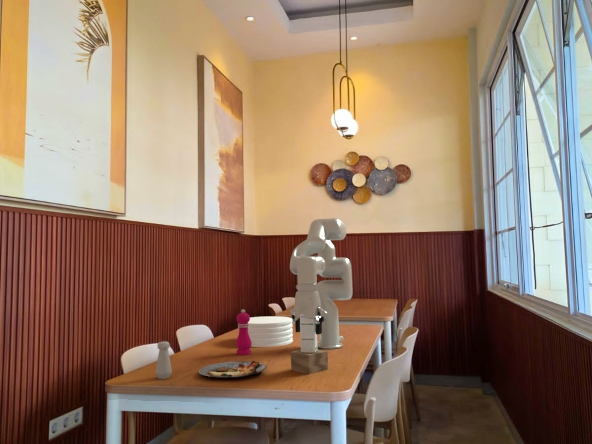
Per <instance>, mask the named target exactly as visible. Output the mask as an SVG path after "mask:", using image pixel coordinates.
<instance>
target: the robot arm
mask: <svg viewBox="0 0 592 444" xmlns="http://www.w3.org/2000/svg"><path fill="white" fill-rule="evenodd" d="M346 236H347V227H346V225H345V223H344V222H343V221H342V220H341V219H338V218H317V219H314V220H312V222H311V223H310V226H309V228H308V233H307V237H306V239H305V240H303V241H302V242H301V243H299V244H298V245H297V246H295V248H294V249H293V251H292V253H291V257H290V260H289V261H290V262H289V270H290V272H291V273H292V274H293V275H297V285H295V289H297V291H296V292H295V297H294V307H293V308H291V309H290V310H289V314H290V315H291V318H292V320H293V322H294V323H295V324H294V326H295V327H294V329H295V333H300V315H301V314H303V315H304V318H307V319H313V318H314V320H315V321H316V323H317V324H316V325H315V327H316V334H317V336H318V337H319V342H317V343H318V349H325V350H326V349H328V350H330V349H339V348H342V347H343V343H342V342H341V341H343V340H344V336H343V335H340V328H339V326H340V323H339V308H338V306H337V305H336V303H335V302H334V301H348V300H349V301H350V300H351V299H352V297H353V293H354V292H353V290H354V289H353V271H352V263H351V260H350V259H349V258H347V257H336V247H335V245H334V244H333V243H332V241H343V240H344V239H345V238H346ZM315 254H317V255H315ZM317 275H319V276H320V277H321V278H340V280H339V279H327V280H325V279H324V280H320V281H319V282H318V276H317Z"/></svg>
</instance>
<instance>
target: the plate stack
mask: <svg viewBox="0 0 592 444" xmlns="http://www.w3.org/2000/svg"><path fill="white" fill-rule="evenodd" d="M237 323H238V322H237ZM248 323H249V327H248V334H249V337H250V339H251V343H252V345H251V347H252V348H253V347H254V348H271V347H280V346H286V345H289V344H292V343H293V342H294V339H293V337H294V334H293V332H294V331H293V329H294V328H293V327H294V326H293V318H292V317H288V316H273V315H271V316H270V315H269V316H265V315H264V316H254V317H253V316H252V317H250V321H249V322H248ZM238 324H239V323H238ZM238 324H237V325H238ZM237 327H238V326H237ZM238 329H239V327H238ZM238 334H239V330H238ZM251 347H250V348H251Z"/></svg>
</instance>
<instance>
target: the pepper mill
mask: <svg viewBox="0 0 592 444" xmlns="http://www.w3.org/2000/svg"><path fill="white" fill-rule="evenodd" d="M250 318H251V317H250V315H249V314H248V313H247V312H246V309H241V311H240V312H239V314H237V315H236V322H237V323H239V324H237V327H239V328H238V331H239V333H238V335H237V338H236V341H235V347H236V348H237V349H236V355H237V356H248V355H251V354H252V353H251V352H252V350H251V345H252V343H251V339H250V337H249V334H248V327H249V323H248V322H249V321H250Z"/></svg>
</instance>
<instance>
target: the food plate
mask: <svg viewBox="0 0 592 444" xmlns="http://www.w3.org/2000/svg"><path fill="white" fill-rule="evenodd" d="M235 368H237V369H235ZM266 369H268V366H267V365H266V364H264V363H262V362H261V363H260V361H255V360H251V361H249V360H248V361H246V360H245V361H243V360H242V361H239V360H238V361H237V360H235V361H225V362H219V363H213V364H208V365H205V366H202V367H201V368H200V369H199V370H198V373H199V375H202V376H206V377H207V376H208V377H211V378H217V379H219V378H225V379H228V378H234V379H235V378H244V377H247V376H248V377H249V376H252V375H256V374H260V373H261V372H263V371H265V370H266ZM214 371H215V372H214Z"/></svg>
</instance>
